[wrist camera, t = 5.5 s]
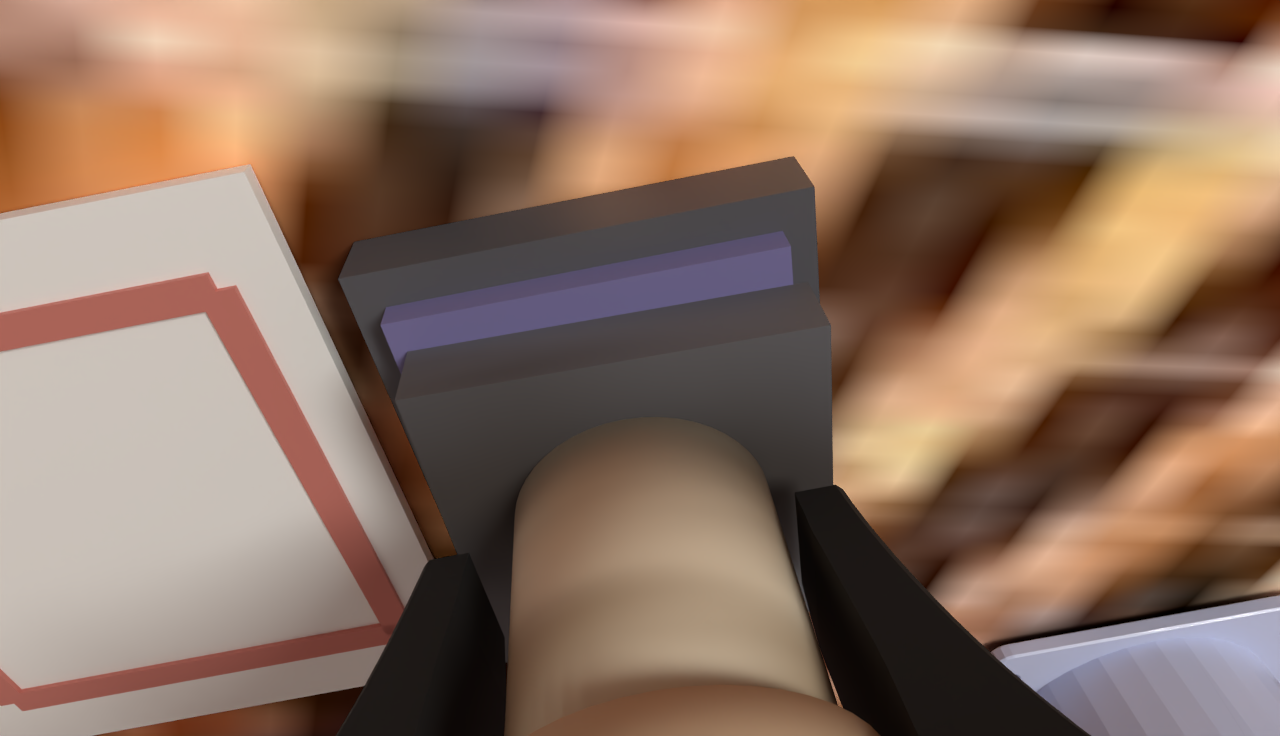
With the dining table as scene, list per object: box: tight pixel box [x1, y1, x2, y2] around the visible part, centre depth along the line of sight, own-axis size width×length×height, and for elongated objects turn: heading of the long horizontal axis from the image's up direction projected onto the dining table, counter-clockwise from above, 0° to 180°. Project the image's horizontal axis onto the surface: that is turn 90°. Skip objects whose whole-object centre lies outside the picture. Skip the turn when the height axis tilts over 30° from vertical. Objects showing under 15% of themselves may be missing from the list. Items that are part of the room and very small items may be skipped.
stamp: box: [395, 282, 880, 736], centre depth 11 cm, size 6×6×7 cm
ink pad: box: [338, 156, 820, 516], centre depth 15 cm, size 9×7×2 cm
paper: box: [0, 164, 433, 736], centre depth 16 cm, size 12×11×1 cm
